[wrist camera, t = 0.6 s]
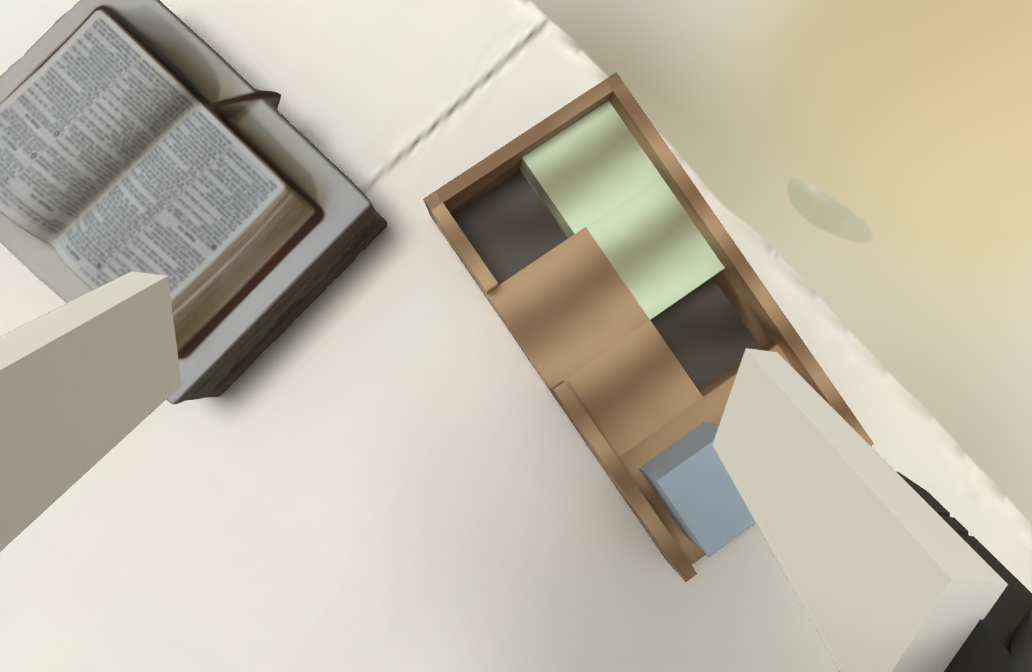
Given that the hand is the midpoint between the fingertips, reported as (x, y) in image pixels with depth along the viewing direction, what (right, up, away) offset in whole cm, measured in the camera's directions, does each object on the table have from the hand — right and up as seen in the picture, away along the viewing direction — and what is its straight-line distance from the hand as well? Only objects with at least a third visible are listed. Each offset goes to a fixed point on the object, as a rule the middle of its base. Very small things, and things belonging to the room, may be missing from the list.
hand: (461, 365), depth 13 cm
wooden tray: (+11, +1, +31) cm, 33 cm away
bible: (-24, +11, +31) cm, 41 cm away
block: (+15, -10, +28) cm, 33 cm away
